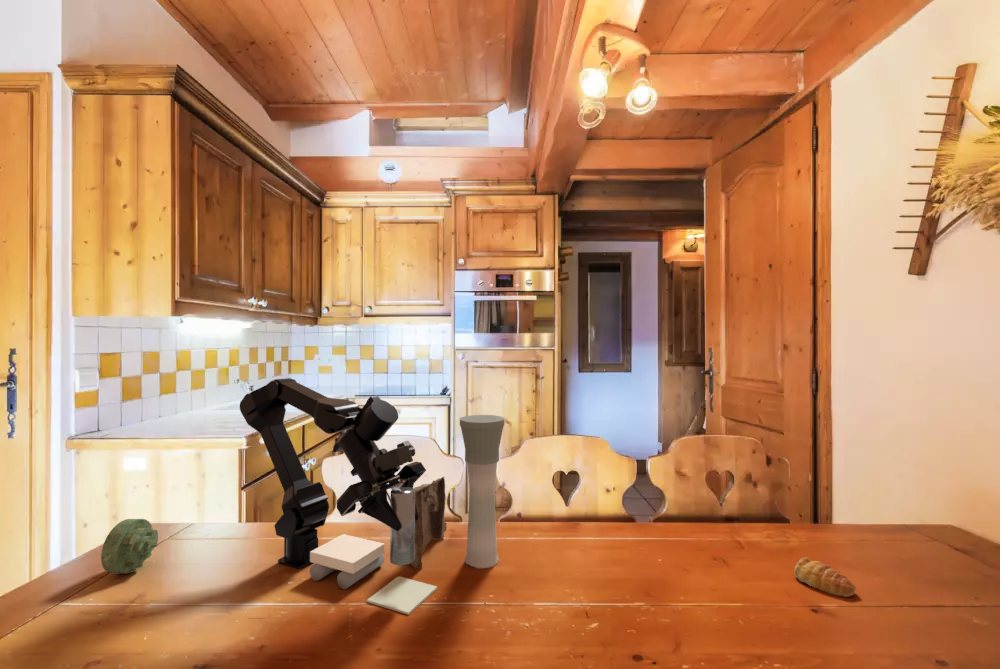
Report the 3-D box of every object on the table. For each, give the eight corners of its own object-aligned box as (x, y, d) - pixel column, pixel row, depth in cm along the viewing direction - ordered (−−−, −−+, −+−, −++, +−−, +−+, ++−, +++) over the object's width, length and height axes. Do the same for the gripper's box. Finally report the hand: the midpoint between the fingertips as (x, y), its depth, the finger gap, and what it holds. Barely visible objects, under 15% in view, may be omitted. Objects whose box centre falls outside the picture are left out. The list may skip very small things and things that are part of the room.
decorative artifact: (140, 558, 98) (141, 511, 98) (173, 558, 98) (174, 511, 98) (100, 583, 88) (101, 531, 88) (137, 583, 88) (138, 531, 88)
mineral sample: (421, 569, 94) (421, 494, 94) (402, 567, 95) (402, 493, 95) (448, 535, 110) (448, 471, 110) (432, 533, 111) (432, 470, 111)
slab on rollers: (307, 578, 90) (308, 552, 90) (344, 556, 99) (344, 533, 99) (351, 591, 86) (351, 564, 86) (385, 567, 95) (386, 542, 95)
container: (496, 547, 104) (496, 413, 104) (510, 567, 95) (510, 421, 95) (454, 553, 101) (455, 416, 101) (465, 574, 92) (465, 423, 92)
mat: (367, 602, 82) (367, 599, 82) (398, 578, 90) (398, 576, 90) (408, 614, 78) (408, 612, 78) (437, 588, 86) (437, 586, 86)
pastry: (862, 593, 86) (862, 572, 86) (844, 604, 82) (844, 582, 82) (808, 571, 94) (808, 552, 94) (789, 580, 90) (789, 560, 90)
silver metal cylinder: (386, 564, 82) (386, 494, 83) (395, 552, 87) (396, 486, 87) (409, 566, 82) (410, 495, 82) (417, 554, 86) (418, 487, 86)
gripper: (349, 439, 78) (398, 517, 73) (419, 421, 94) (463, 484, 89) (316, 478, 82) (361, 555, 77) (389, 454, 98) (430, 517, 93)
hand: (408, 524), depth 84 cm, fingers closed on silver metal cylinder, 4 cm apart
